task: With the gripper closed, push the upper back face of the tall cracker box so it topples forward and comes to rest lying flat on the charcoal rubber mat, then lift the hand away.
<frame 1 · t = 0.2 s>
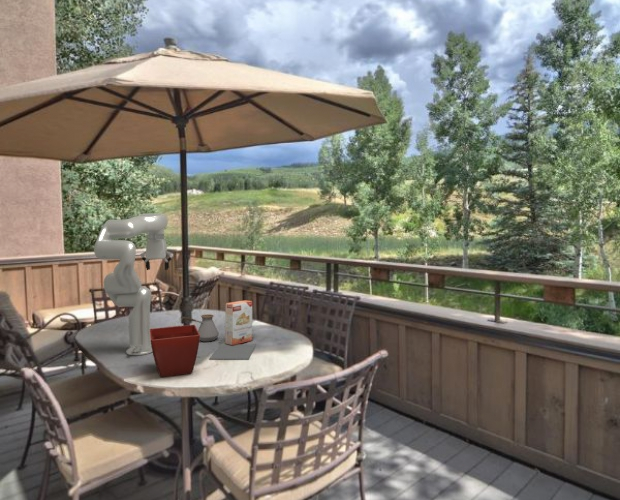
hand: (157, 269, 232), 37 cm above the table, tool pointing down, fingers open, 9 cm apart
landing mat: (233, 352, 211), on the table
cracker box: (239, 342, 225), on the table, touching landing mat
coffee pot: (199, 342, 228), on the table
plant pot: (175, 371, 186), on the table
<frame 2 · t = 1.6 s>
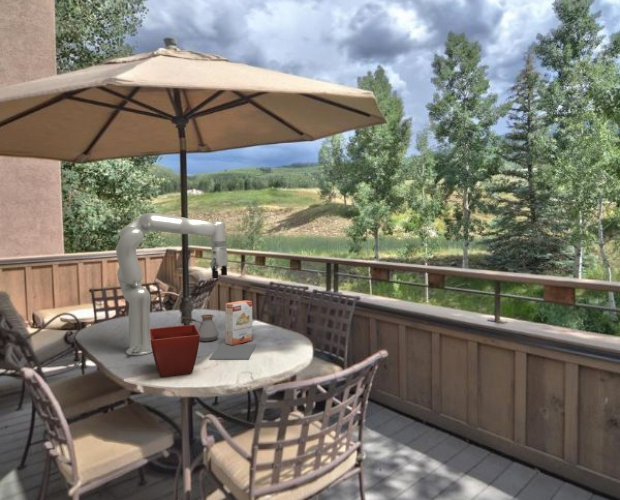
hand: (219, 276, 233), 33 cm above the table, tool pointing down, fingers open, 9 cm apart
nothing on the table moved.
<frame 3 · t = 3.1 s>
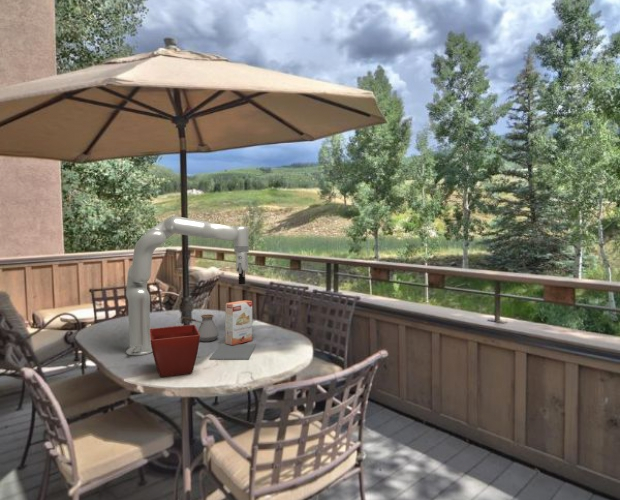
hand: (241, 283, 233), 29 cm above the table, tool pointing down, fingers closed
nothing on the table moved.
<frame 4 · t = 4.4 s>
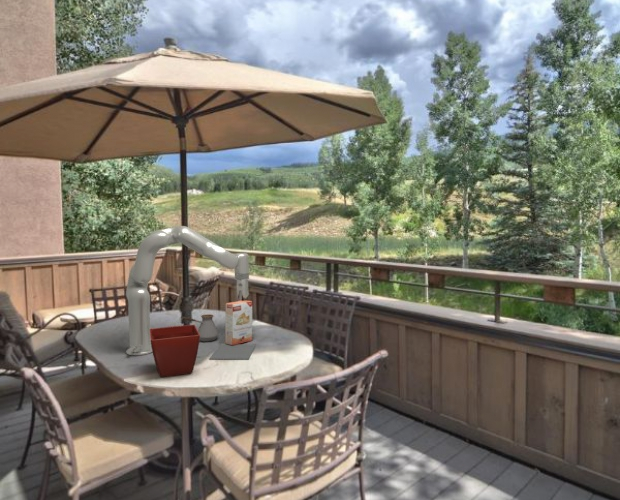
hand: (242, 310, 234), 15 cm above the table, tool pointing down, fingers closed
nothing on the table moved.
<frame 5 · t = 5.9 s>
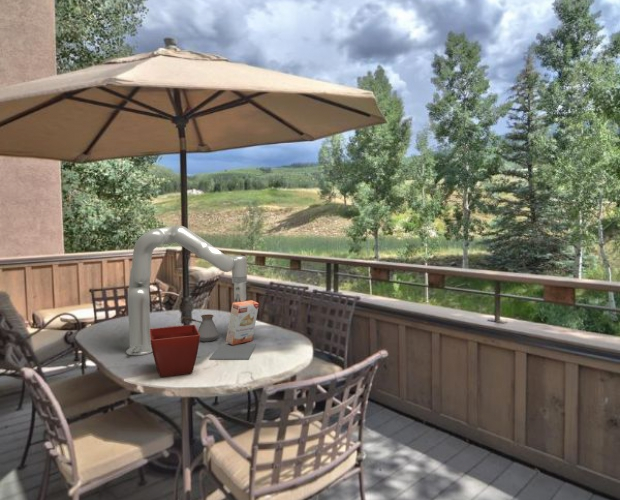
hand: (239, 314, 228), 14 cm above the table, tool pointing down, fingers closed
cracker box: (239, 341, 225), point 1 cm above the table, touching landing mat
everything else where it was.
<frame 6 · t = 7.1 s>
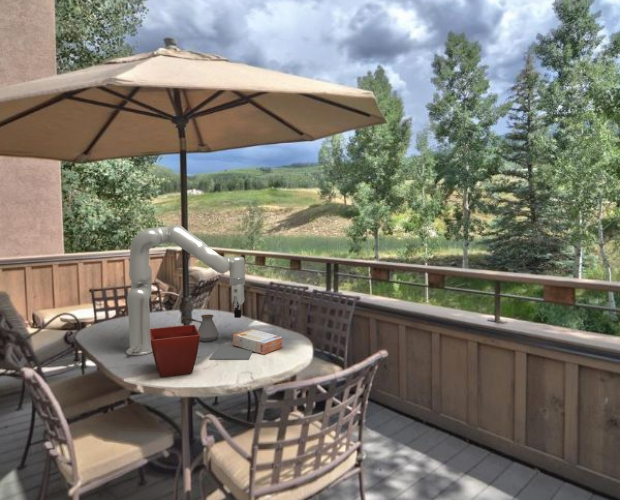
hand: (237, 317, 221), 14 cm above the table, tool pointing down, fingers closed
cracker box: (241, 336, 223), point 4 cm above the table, touching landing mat
everything else where it was.
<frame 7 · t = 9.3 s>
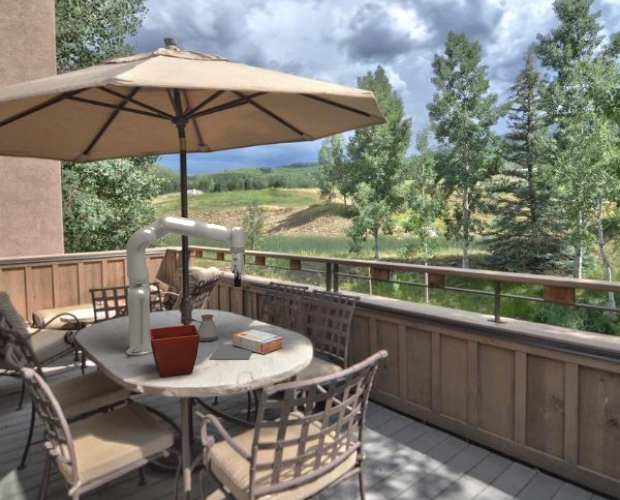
hand: (237, 286, 223), 29 cm above the table, tool pointing down, fingers closed
nothing on the table moved.
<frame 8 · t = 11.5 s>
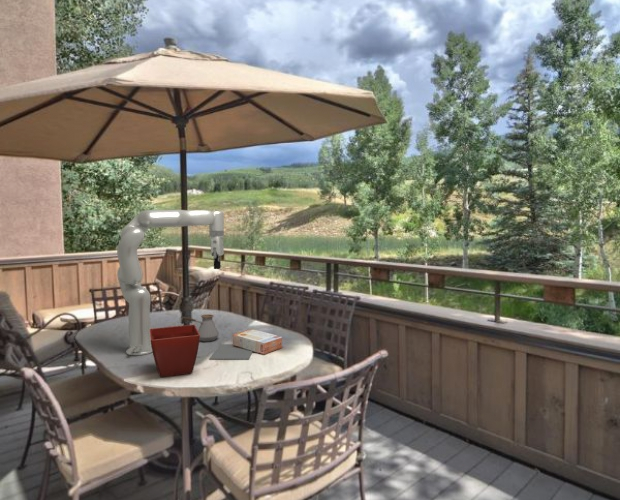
hand: (217, 268, 233), 37 cm above the table, tool pointing down, fingers closed
nothing on the table moved.
at the end: cracker box tilted 92°; cracker box touching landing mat, table; coffee pot moved 0.2 cm from its start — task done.
